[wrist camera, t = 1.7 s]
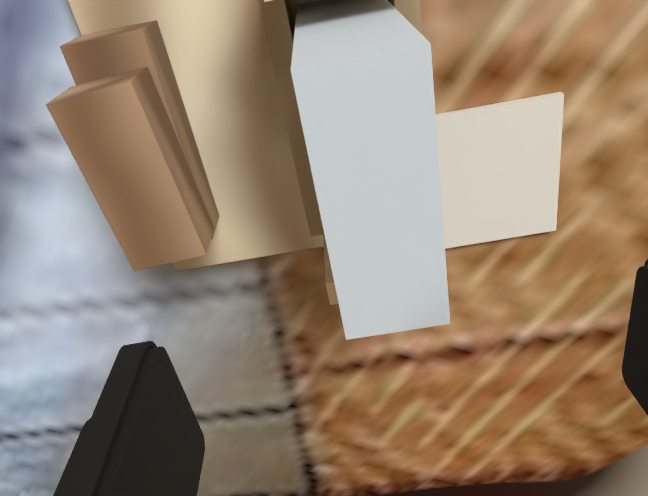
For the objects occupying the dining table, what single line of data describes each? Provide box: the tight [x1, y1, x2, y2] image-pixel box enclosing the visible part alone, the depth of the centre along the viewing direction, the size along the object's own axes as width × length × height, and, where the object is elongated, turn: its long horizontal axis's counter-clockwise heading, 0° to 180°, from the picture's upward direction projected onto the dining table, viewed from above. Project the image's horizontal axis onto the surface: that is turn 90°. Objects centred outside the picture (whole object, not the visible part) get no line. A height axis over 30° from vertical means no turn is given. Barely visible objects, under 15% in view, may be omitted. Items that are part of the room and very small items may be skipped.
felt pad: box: [436, 92, 564, 249], centre depth 29 cm, size 7×8×1 cm
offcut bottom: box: [60, 20, 219, 239], centre depth 25 cm, size 4×10×2 cm, turn 10°
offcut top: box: [46, 66, 214, 271], centre depth 24 cm, size 4×8×2 cm, turn 14°
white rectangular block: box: [291, 0, 450, 340], centre depth 21 cm, size 4×9×12 cm, turn 10°
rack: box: [68, 0, 423, 305], centre depth 24 cm, size 15×16×8 cm
